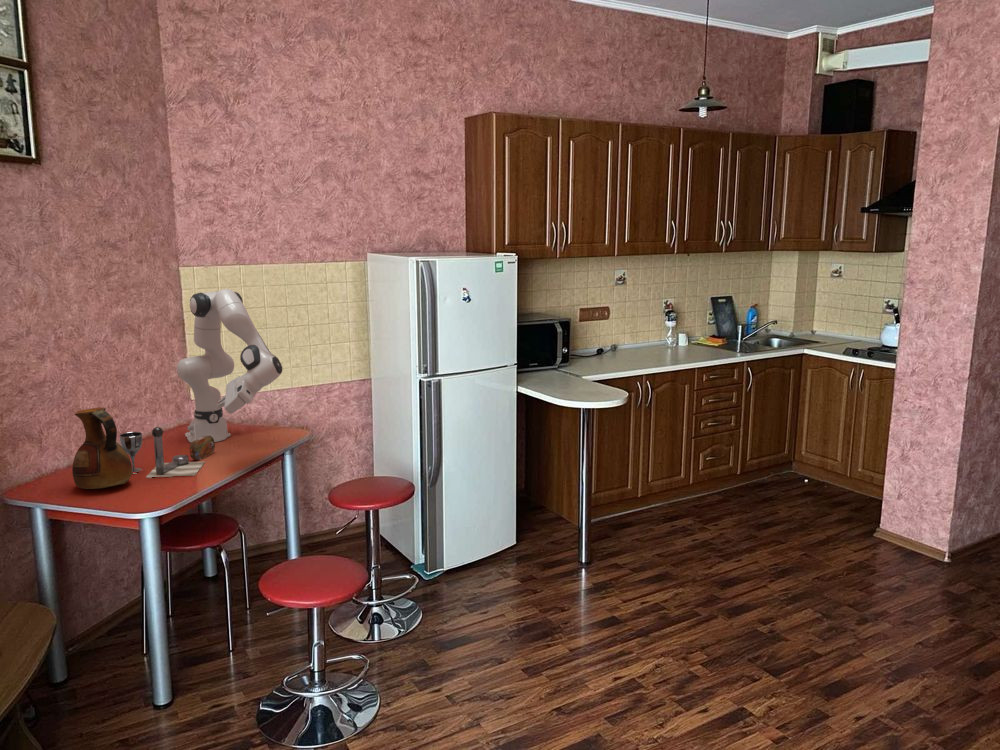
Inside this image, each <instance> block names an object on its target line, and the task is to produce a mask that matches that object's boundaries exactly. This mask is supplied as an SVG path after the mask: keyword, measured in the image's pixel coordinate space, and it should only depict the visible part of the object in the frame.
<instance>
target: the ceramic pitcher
mask: <svg viewBox="0 0 1000 750" xmlns="http://www.w3.org/2000/svg"><path fill="white" fill-rule="evenodd" d="M106 409H107V408H106V407H103V406H102V407H92V408H85V409H82V410H81V409H80V410H78V411H75V413H74V414H73V415H74V416H76V417H77V418H78V419H79V420H80V422H81V423H82V425H83V428H84V432H85V439H84V441H83V443H82V444H81V445H80V446H79V448H78V449H77V451H76V453H75V455H74V458H73V461H72V472H71V473H72V478H73V482H74V485H75V486H76V487H77V488H80V489H84V490H85V489H86V490H96V489H98V490H99V489H105V488H110V487H115V486H118V485H119V486H120V485H123V484H126V483H127V482H128V481H129V480H130V479H131V478H132V475H133V474H132V460H131V457H130V456H129V454H128V453H126V451H125V450H124V448H123V447H122V446H121V444H120V443H118V442H117V437H118V429H117V425H116V423H115V421H114V418H113V416H112V415H110V414H109V413H108V411H106ZM103 429H104V430H103Z"/></svg>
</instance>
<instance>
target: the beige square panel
mask: <svg viewBox="0 0 1000 750" xmlns="http://www.w3.org/2000/svg"><path fill="white" fill-rule="evenodd" d="M168 463H169V462H164V465H166V464H168ZM204 463H206V461H189V463H187V464H184V465H178V466H176V467H174V468H172V469H170V470H168V471H167V472H165V473H164V474H156V466H155V467H154V468H152V470H151V471H150V472H149V473H148V474H147V475H146V476H145V477H146V479H153V478H152V477H169V478H174V477H173V476H195V475H196V474H197V475H198V473H199V472H200V471H199V470H201V469H202V468H203V467H204V465H205V464H204ZM202 466H203V467H202ZM201 467H202V468H201ZM198 471H199V472H198ZM197 472H198V473H197ZM197 475H196V476H197ZM196 476H195V477H196Z"/></svg>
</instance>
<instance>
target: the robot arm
mask: <svg viewBox="0 0 1000 750" xmlns="http://www.w3.org/2000/svg"><path fill="white" fill-rule="evenodd" d="M189 308H190V312H191V314H192V315H193V316H194V325H193V342H194V344H195V345H196V346H197V347H198V348H200V349H202V350H204V354H203V355H195V356H188V357H186V358H182V359H180V360H179V361H178V363H177V365H176V374H177V376H178V378H180V380H181V381H183V382H185V383H187V385H188V386H189V387H190V388H191V390H192V393H193V399H194V406H195V409H194V412H193V413H194V414H193V417H194V418H193V419H192V420H191V422H190V423H189V425H187V431H188V432H185V433H184V435H185V438H186V437H187V438H186V439H187V441H188V442H189V443H192V442H193V441H195V440H197V439H199V438H201V437H203V436H212V437H213V439H214V442H215V443H216V442H221V441H225V440H226V439H228V438H229V437H231V436H232V434H231V433H230V432H228V424H227V419H226V418H225V417H223V415H224V410H225V411H226V412H227V413H229V414H234V413H236V412H237V411H238V410H240V409H241V408H243V407H244V406H245V405H246V404H247V405H248V404H250V403H252V401H253V400H254V397H255V396H256V395H257V394H258V392H260V391H261V390H262V389H263V388H264V387H266V386H269V385H270V384H272V383H273V382H274V381H275V380H277V379H278V378H279V377H280V376H281V375H282V373H283V365H282V363H281V361H280V359H279V358H278V357H277V356H276V355H274V354H273V353H272V352H271V351H270V350H269V348H268V346H267V345H266V343H265V342H264V339H263V338H262V336H261V335H260V333H259V331H258V330H257V328H256V326H255V324H254V323H253V321H252V319H251V317H250V315H249V313H248V311H247V308H246V307H245V305H244V302H243V298H242V296H241V294H240V293H239V292H237V291H233V290H232V289H230V288H223V289H220V290H216V291H206V292H196V293H194V294H192V296H191V297H190V300H189ZM222 324H223V326H224V327H225V328H226V330H228V331H229V332H231V333H232V334H233V335H234V336H237V337H238V338H239V339H240V340H241V341H243V342H245V344H246V345H247V346H246V347H244V348H243V349H242V350H241V352H240V358H239V359H240V363H241V364H242V365H243V367H244V368H245V370H247V371H246V372H245V373H244V374H243V375H241V376H238V377H235V378H233V379H232V380H230V381H228V383H226V387H225V394H224V395H223V397H222V398H221V396H222V395H221V391H220V390H219V389H218V388H216V387H214V386H211V385H210V383H209V380H211V379H212V380H213V379H219V378H224V377H226V376H229V375H231V374H233V372H234V370H235V361H234V359H233V358H232V356H231V355H230V354H228V353H227V352H226V351H225V350H224V348H223V346H222V345H223V344H222V340H221V339H222V338H221V334H222V333H221V332H222V330H221V327H222V326H221V325H222Z"/></svg>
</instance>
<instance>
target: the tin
mask: <svg viewBox="0 0 1000 750" xmlns="http://www.w3.org/2000/svg"><path fill="white" fill-rule="evenodd" d="M215 443H216V442H214V439H213V437H212V436H203V437H201V438H199V439H197V440H195V441H193V442H190V445H189V455H190V458H191V459H192V460H194V461H201V460H200V459H202V460H203V458H204V459H206V458H208V457H210V456H211V455H212V454H214V451H215V448H216V447H215V445H216V444H215Z"/></svg>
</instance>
